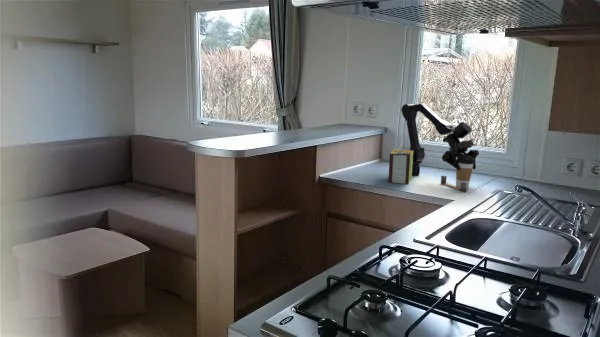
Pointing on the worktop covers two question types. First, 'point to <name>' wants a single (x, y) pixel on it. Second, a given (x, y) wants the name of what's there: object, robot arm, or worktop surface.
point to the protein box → (400, 166)
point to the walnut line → (443, 181)
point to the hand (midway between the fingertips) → (467, 169)
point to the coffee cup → (464, 170)
